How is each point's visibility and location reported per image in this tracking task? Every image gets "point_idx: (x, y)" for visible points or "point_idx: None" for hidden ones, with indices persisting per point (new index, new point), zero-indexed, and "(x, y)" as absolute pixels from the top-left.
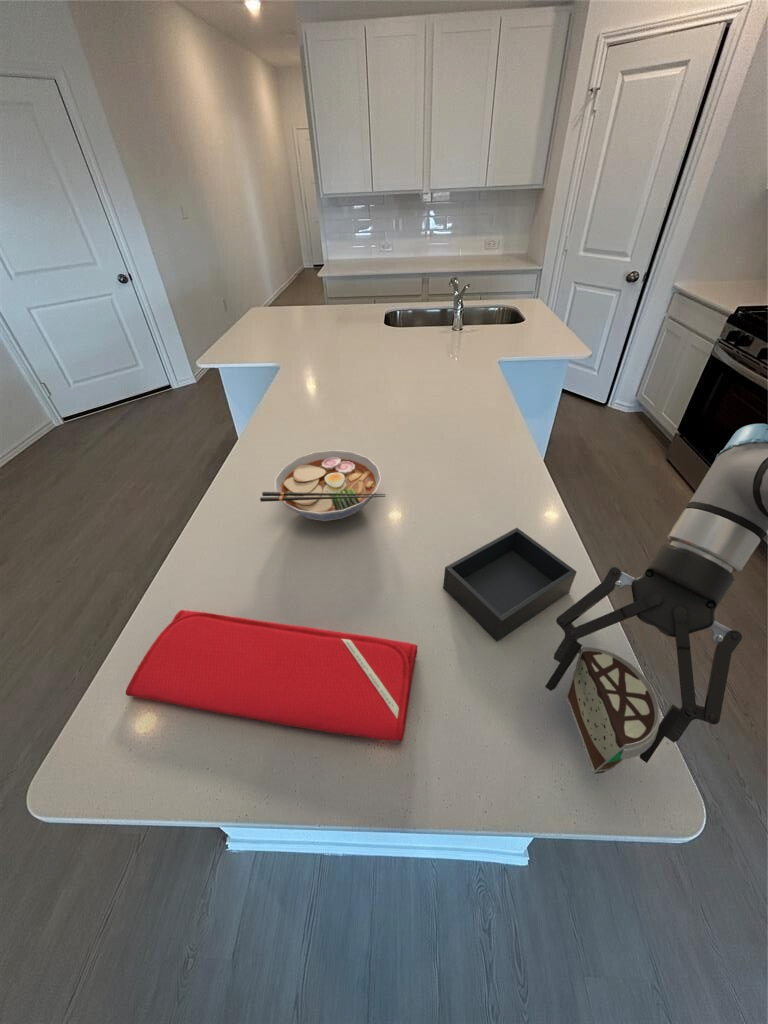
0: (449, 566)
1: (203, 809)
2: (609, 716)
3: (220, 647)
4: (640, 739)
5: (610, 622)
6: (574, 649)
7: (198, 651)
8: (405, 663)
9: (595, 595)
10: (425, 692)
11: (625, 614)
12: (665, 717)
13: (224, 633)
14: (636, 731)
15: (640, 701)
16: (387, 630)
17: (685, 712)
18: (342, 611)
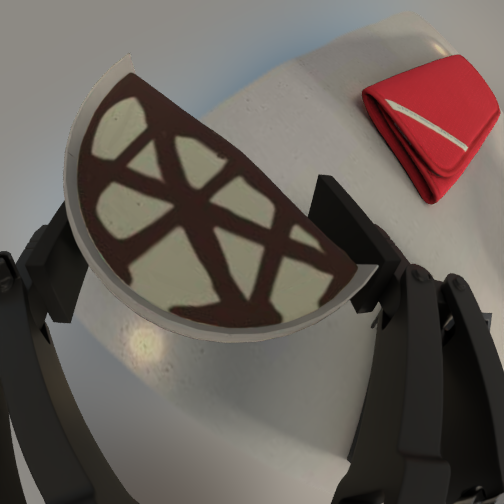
0: (490, 319)
1: (382, 22)
2: (188, 114)
3: (477, 93)
4: (98, 113)
5: (411, 389)
6: (381, 246)
7: (477, 85)
8: (430, 160)
9: (501, 409)
10: (386, 167)
11: (420, 460)
12: (65, 255)
13: (486, 104)
14: (111, 123)
15: (130, 225)
16: (454, 206)
17: (15, 275)
18: (479, 193)
